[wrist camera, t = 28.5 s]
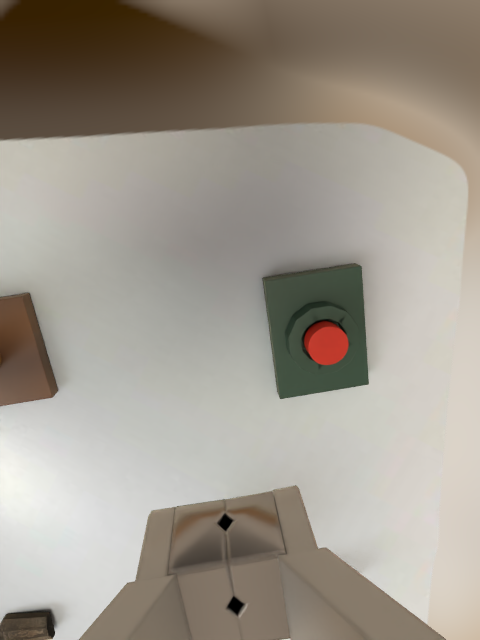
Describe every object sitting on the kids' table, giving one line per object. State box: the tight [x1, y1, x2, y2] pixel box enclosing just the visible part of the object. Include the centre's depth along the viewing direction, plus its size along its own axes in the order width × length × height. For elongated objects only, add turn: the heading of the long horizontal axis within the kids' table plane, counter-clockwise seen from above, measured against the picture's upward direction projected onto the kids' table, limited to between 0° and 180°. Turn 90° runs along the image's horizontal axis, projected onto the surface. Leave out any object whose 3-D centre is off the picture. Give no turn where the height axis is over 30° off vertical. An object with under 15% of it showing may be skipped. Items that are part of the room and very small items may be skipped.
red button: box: [304, 321, 348, 365], centre depth 37 cm, size 4×4×2 cm
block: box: [0, 612, 55, 640], centre depth 47 cm, size 4×6×2 cm, turn 101°
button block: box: [263, 263, 369, 399], centre depth 39 cm, size 12×9×4 cm
